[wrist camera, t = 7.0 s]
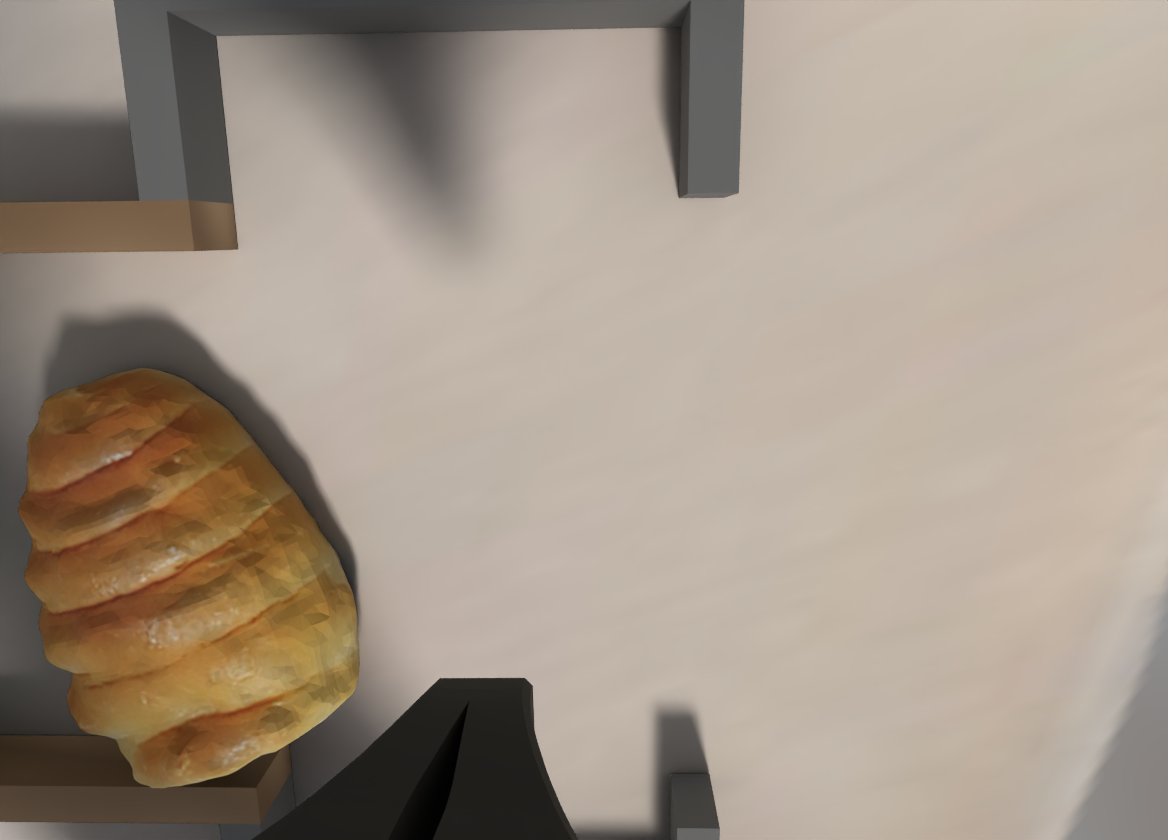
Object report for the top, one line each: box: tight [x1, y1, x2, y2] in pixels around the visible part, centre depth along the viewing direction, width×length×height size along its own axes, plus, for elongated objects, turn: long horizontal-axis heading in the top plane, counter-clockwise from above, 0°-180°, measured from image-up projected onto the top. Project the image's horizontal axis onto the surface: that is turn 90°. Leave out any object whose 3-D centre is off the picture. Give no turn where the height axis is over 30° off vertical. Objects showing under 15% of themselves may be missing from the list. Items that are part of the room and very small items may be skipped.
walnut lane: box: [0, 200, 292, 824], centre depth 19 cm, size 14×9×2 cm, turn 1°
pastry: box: [18, 368, 360, 788], centre depth 19 cm, size 9×7×4 cm
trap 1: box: [114, 0, 744, 204], centre depth 17 cm, size 4×12×2 cm, turn 91°
